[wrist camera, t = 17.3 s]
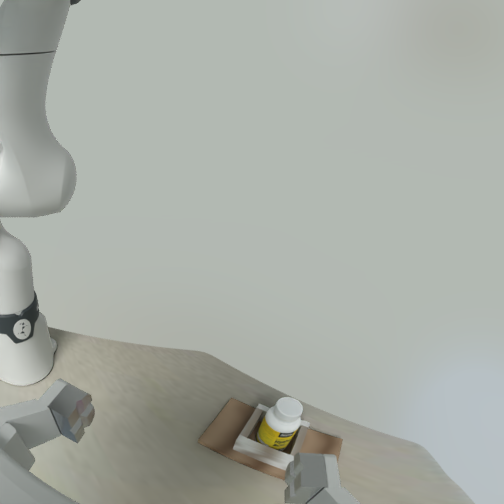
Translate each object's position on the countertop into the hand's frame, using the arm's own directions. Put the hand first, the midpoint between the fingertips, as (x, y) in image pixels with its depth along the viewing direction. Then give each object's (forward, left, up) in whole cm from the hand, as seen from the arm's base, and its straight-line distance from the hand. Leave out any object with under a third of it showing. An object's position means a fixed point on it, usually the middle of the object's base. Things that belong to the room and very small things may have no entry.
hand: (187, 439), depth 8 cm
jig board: (+4, +24, -30) cm, 39 cm away
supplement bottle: (+3, +24, -29) cm, 38 cm away
